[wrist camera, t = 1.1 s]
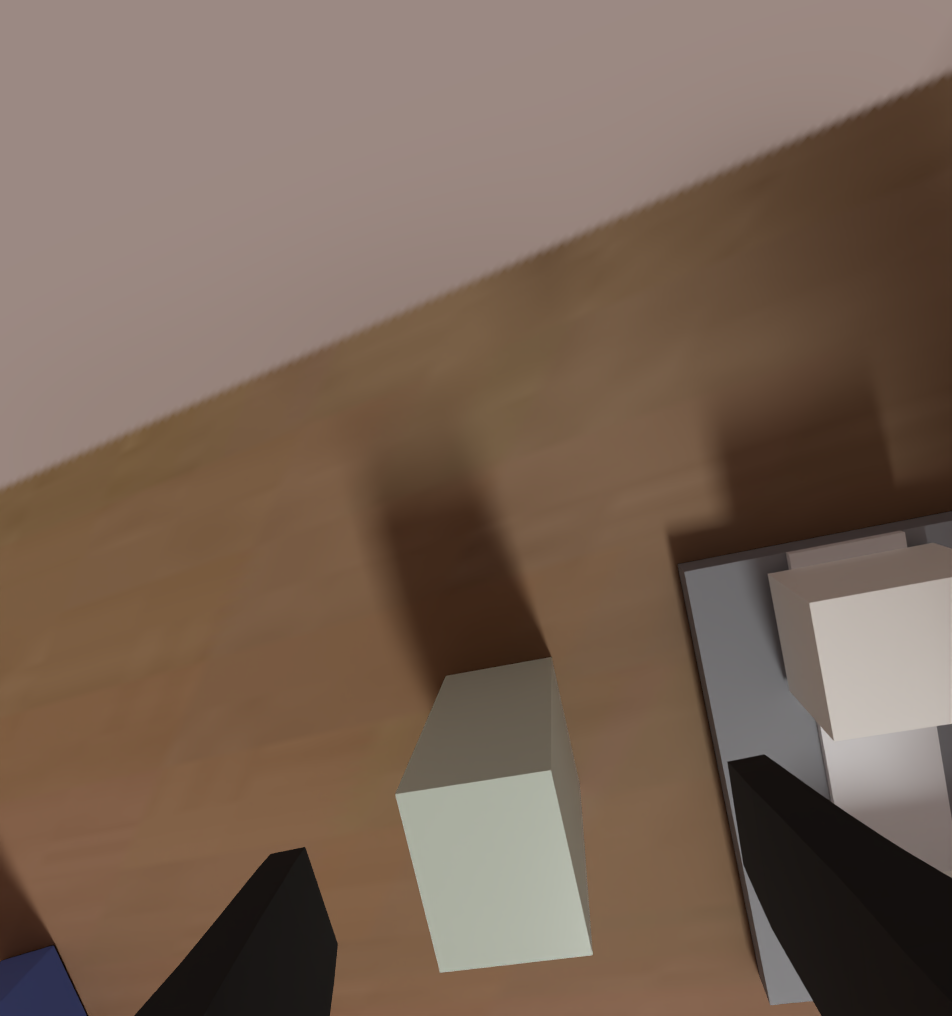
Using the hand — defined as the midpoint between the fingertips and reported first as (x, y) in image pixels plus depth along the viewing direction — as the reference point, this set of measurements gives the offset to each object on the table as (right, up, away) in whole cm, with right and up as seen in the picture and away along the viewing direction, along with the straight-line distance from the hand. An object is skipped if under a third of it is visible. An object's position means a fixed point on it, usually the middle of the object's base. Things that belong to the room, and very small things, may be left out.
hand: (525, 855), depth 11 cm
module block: (+1, -2, +14) cm, 14 cm away
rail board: (+13, -3, +12) cm, 18 cm away
